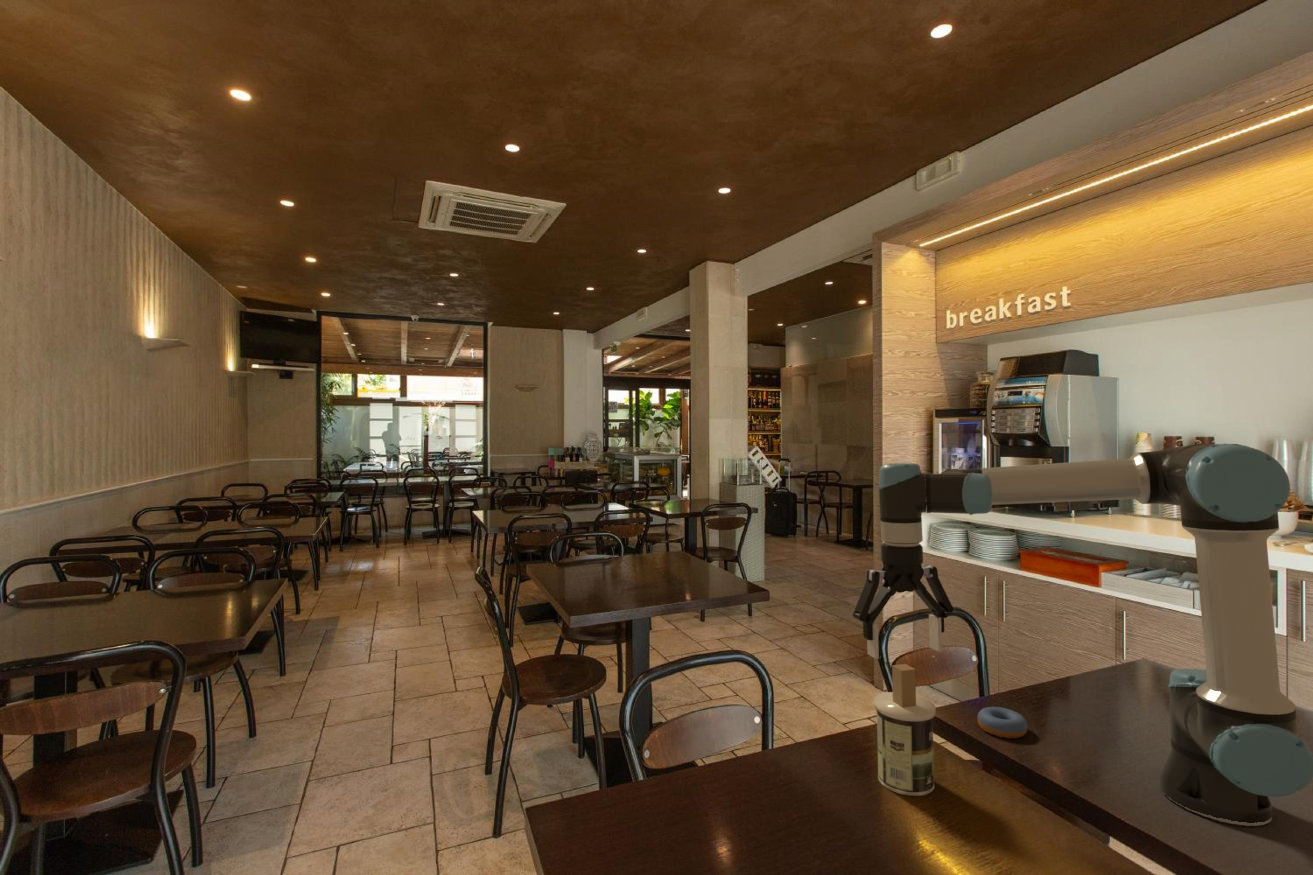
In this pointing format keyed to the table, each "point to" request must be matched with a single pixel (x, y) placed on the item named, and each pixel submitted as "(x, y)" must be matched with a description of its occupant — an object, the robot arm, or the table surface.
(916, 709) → the lid
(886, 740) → the coffee can
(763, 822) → the table surface
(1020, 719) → the doughnut
